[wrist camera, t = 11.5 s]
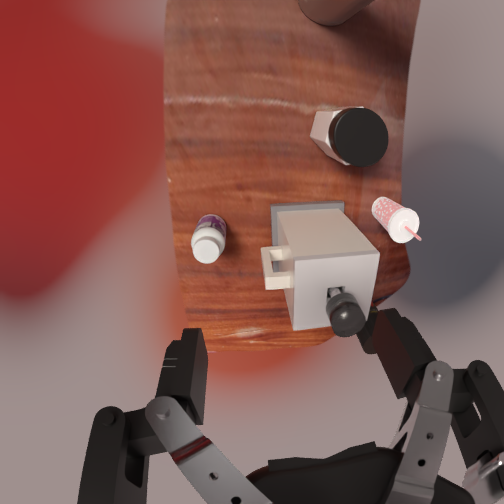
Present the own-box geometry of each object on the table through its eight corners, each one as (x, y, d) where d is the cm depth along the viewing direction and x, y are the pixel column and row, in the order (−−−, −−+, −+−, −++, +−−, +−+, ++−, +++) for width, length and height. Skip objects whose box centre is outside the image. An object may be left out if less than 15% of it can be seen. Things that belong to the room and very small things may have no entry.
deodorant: (335, 297, 59) (357, 346, 46) (355, 279, 57) (383, 325, 44) (350, 310, 61) (373, 358, 48) (370, 293, 59) (397, 338, 46)
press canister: (256, 204, 49) (266, 255, 32) (341, 200, 49) (387, 245, 33) (260, 269, 55) (269, 337, 38) (337, 263, 55) (371, 324, 39)
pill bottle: (231, 233, 51) (230, 259, 43) (206, 245, 52) (199, 273, 44) (218, 208, 49) (213, 229, 40) (191, 220, 50) (181, 244, 41)
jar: (348, 162, 46) (378, 177, 35) (305, 148, 45) (325, 160, 34) (362, 115, 42) (396, 118, 31) (318, 99, 41) (343, 95, 30)
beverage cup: (395, 220, 51) (433, 253, 39) (368, 225, 52) (403, 261, 39) (395, 190, 48) (436, 217, 36) (367, 195, 49) (404, 224, 36)
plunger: (292, 236, 42) (316, 299, 28) (345, 232, 42) (389, 290, 28) (292, 283, 46) (311, 354, 32) (341, 278, 46) (375, 343, 32)
